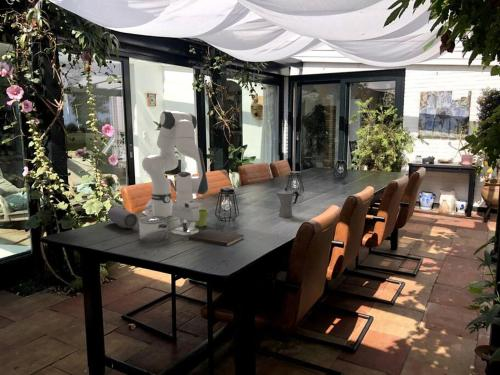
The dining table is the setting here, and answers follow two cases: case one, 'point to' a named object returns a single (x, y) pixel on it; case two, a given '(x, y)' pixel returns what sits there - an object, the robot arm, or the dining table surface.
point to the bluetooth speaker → (122, 217)
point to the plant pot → (202, 217)
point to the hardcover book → (216, 237)
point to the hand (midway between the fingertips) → (185, 227)
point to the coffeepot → (286, 202)
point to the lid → (185, 230)
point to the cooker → (153, 228)
